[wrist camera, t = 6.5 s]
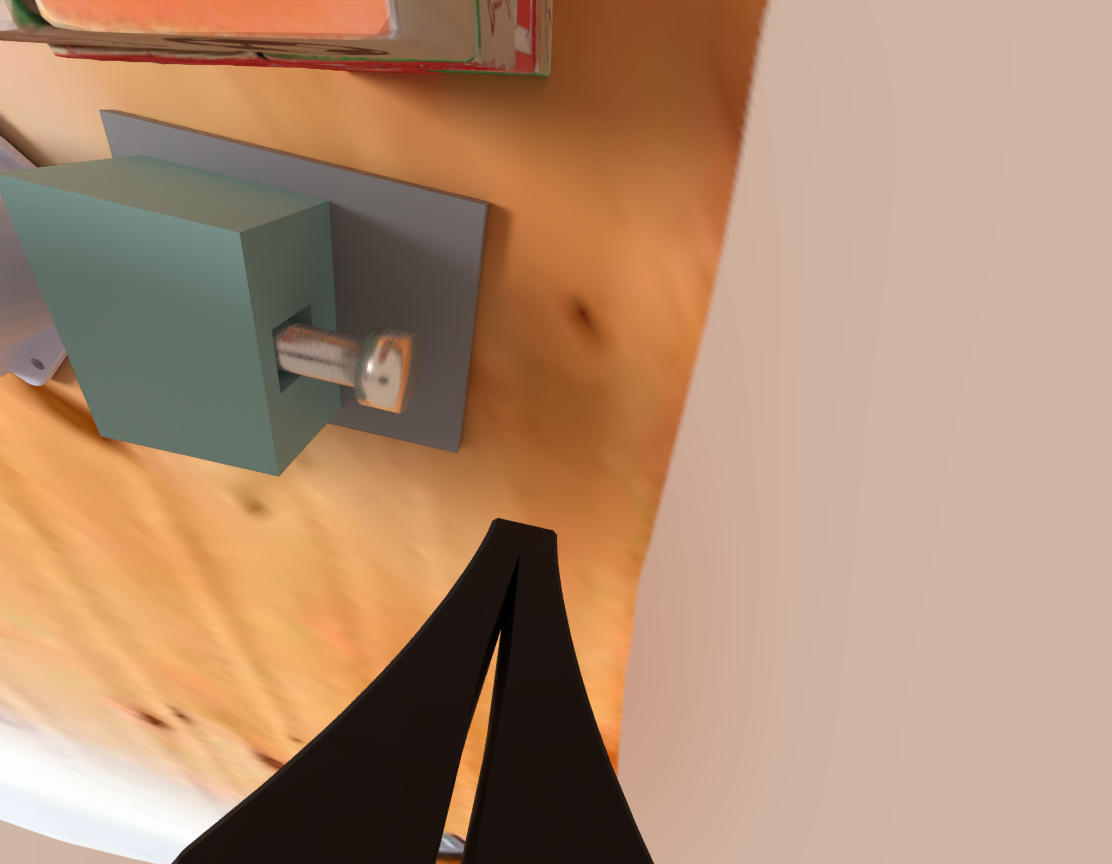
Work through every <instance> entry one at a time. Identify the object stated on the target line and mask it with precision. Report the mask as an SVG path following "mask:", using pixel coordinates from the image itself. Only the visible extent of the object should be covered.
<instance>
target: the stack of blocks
mask: <svg viewBox="0 0 1112 864" xmlns="http://www.w3.org/2000/svg"><path fill="white" fill-rule="evenodd" d="M552 12H553V0H0V40H2V41H17V42H35V43H47V44H48V46H49V47H50V49H51V50H52V52H53V53H54V55H55V56H60V57H66V58H78V59H92V60H100V61H126V62H153V63H159V64H185V65H234V66H257V67H295V68H310V69H323V70H326V69H328V70H335V71H369V72H394V73H429V74H441V73H444V72H458V73H480V74H501V75H529V76H541V77H548V76H550V72H551V52H552Z"/></svg>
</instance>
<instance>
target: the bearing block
mask: <svg viewBox="0 0 1112 864" xmlns="http://www.w3.org/2000/svg"><path fill="white" fill-rule="evenodd" d="M99 111H100V114H101V118H102V122H103V125H104V129H105V132H106V136H107V139H108V143H109V146H110V150H111V153H112V157H113V158H112V159H104V160H95V161H87V162H79V163H71V164H62V165H54V166H46V167H38V168H29V169H21V170H13V171H5V172H0V195H1V197H2V199H3V202H4V204H5V207H6V209H7V211H8V214H9V216H10V219H11V221H12V223H13V226H14V228H15V231H16V233H17V236H18V238H19V240H20V243H21V245H22V248H23V250H24V252H25V255H26V257H27V260H28V262H29V264H30V267H31V269H32V272H33V274H34V276H35V279H36V281H37V284H38V286H39V288H40V291H41V293H42V296H43V298H44V301H45V303H46V305H47V308H48V310H49V313H50V315H51V317H52V320H53V322H54V325H55V327H56V329H57V332H58V334H59V337H60V339H61V341H62V344H63V346H64V349H65V351H66V353H67V356H68V358H69V361H70V363H71V366H72V368H73V370H74V373H75V375H76V378H77V380H78V382H79V385H80V387H81V390H82V392H83V394H84V397H85V399H86V402H87V404H88V406H89V409H90V411H91V414H92V416H93V419H94V421H95V423H96V426H97V428H98V431H99V433H100V435H101V436H102V437H106V438H111V439H115V440H120V441H124V442H129V443H133V444H138V445H142V446H146V447H151V448H155V449H160V450H164V451H169V452H173V453H177V454H182V455H186V456H191V457H195V458H200V459H204V460H208V461H213V462H217V463H222V464H226V465H231V466H235V467H239V468H244V469H248V470H253V471H257V472H262V473H266V474H270V475H275V476H280V475H281V474H282V472H283V471H284V470H285V469H286V468H287V467H288V466H289V465H290V464H291V462H292V461H293V460H294V459H295V458H296V457H297V456H298V455H299V454H300V452H301V451H302V450H303V449H304V448H305V447H306V446H307V445H308V443H309V442H310V441H311V440H312V439H313V438H314V437H315V436H316V435H317V433H318V432H319V431H320V430H321V429H322V428H323V427H324V426H325V424H326V423H329V424H333V425H338V426H342V427H347V428H351V429H355V430H360V431H364V432H368V433H373V434H377V435H381V436H386V437H390V438H394V439H399V440H403V441H407V442H412V443H416V444H421V445H425V446H429V447H434V448H438V449H442V450H447V451H451V452H455V453H458V451H459V449H460V446H461V439H462V430H463V422H464V413H465V405H466V396H467V388H468V379H469V371H470V362H471V354H472V345H473V337H474V328H475V320H476V311H477V303H478V294H479V286H480V277H481V269H482V260H483V252H484V243H485V235H486V226H487V218H488V209H489V202H486V201H482V200H478V199H474V198H470V197H466V196H462V195H458V194H454V193H450V192H446V191H442V190H437V189H433V188H429V187H425V186H421V185H417V184H413V183H409V182H405V181H401V180H397V179H393V178H389V177H385V176H381V175H376V174H372V173H368V172H364V171H360V170H356V169H352V168H348V167H344V166H340V165H336V164H332V163H328V162H324V161H320V160H316V159H311V158H307V157H303V156H299V155H295V154H291V153H287V152H283V151H279V150H275V149H271V148H267V147H263V146H259V145H255V144H251V143H246V142H242V141H238V140H234V139H230V138H226V137H222V136H218V135H214V134H210V133H206V132H202V131H198V130H194V129H190V128H186V127H181V126H177V125H173V124H169V123H165V122H161V121H157V120H153V119H149V118H145V117H141V116H137V115H133V114H129V113H125V112H121V111H116V110H99ZM286 320H288V321H292V322H297V323H301V324H305V325H309V326H314V327H318V328H322V329H326V330H331V331H335V332H339V333H343V334H348V335H352V336H356V337H360V338H365V337H366V335H367V334H368V332H369V331H370V330H371V329H372V328H373V327H375V326H382V327H386V328H390V329H395V330H399V331H403V332H407V333H412V334H416V335H418V336H419V338H420V340H421V345H422V361H421V369H420V374H419V379H418V383H417V386H416V390H415V393H414V395H413V398H412V400H411V402H410V404H409V406H408V407H407V409H406V410H405V411H404V412H403V413H395V412H390V411H386V410H382V409H377V408H373V407H369V406H364V405H361V404H360V403H359V402H358V401H357V399H356V396H355V391H354V387H351V386H347V385H343V384H338V383H334V382H330V381H326V380H321V379H317V378H313V377H308V376H304V375H300V374H295V373H291V372H287V371H283V370H278V369H277V365H276V358H275V351H274V344H273V337H272V329H274V328H275V327H277V326H278V325H280V324H281V323H283V322H284V321H286Z"/></svg>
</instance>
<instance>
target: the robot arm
mask: <svg viewBox="0 0 1112 864" xmlns="http://www.w3.org/2000/svg"><path fill="white" fill-rule="evenodd" d="M29 168H37V167H36V166H35V165H34V164H32V163H31V162H30V161H29V160H28V159H27V158H26V157H24V156H23V155H22V154H21V153H20V152H19V151H17V150H16V149H15V148H14V147H13V146H12V145H11V144H9V143H8V142H7V141H6V140H5V139H4V138H3V137H1V136H0V172H5V171H13V170H21V169H29ZM66 356H67V353H66V351H65V349H64V346H63V344H62V341H61V339H60V337H59V334H58V332H57V329H56V327H55V325H54V322H53V320H52V317H51V315H50V313H49V310H48V308H47V305H46V303H45V301H44V298H43V296H42V293H41V291H40V288H39V286H38V284H37V281H36V279H35V276H34V274H33V272H32V269H31V267H30V264H29V262H28V260H27V257H26V255H25V252H24V250H23V248H22V245H21V243H20V240H19V238H18V236H17V233H16V231H15V228H14V226H13V223H12V221H11V219H10V216H9V214H8V211H7V209H6V207H5V204H4V202H3V199H2V197H1V195H0V377H1V376H4V375H6V374H8V373H10V372H13V373H15V374H16V375H17V376H19V377H20V378H22V379H23V380H25V381H26V382H28V383H29V384H32V385H35V386H41V385H43V384H45V383H47V382H48V381H50V379H51V378H52V376H53V375H54V373H55V372H56V371H57V369H58V368H59V366H60V365H61V363H62V362H63V360H64V359H65V357H66ZM500 631H501V634H500ZM499 634H500V641H499V649H498V656H497V664H496V671H495V679H494V686H493V694H492V701H491V709H490V716H489V724H488V731H487V738H486V744H485V750H484V756H483V762H482V766H481V771H480V776H479V780H478V785H477V790H476V795H475V799H474V804H473V809H472V813H471V818H470V823H469V827H468V832H467V837H466V841H465V846H464V851H463V855H462V860H461V864H654V863H653V860H652V858H651V856H650V854H649V852H648V850H647V847H646V845H645V843H644V841H643V838H642V836H641V834H640V832H639V830H638V828H637V825H636V823H635V820H634V818H633V815H632V813H631V811H630V808H629V806H628V803H627V801H626V798H625V796H624V794H623V791H622V789H621V787H620V784H619V781H618V779H617V777H616V774H615V772H614V769H613V767H612V765H611V762H610V759H609V757H608V754H607V751H606V748H605V746H604V743H603V740H602V737H601V735H600V732H599V729H598V726H597V723H596V720H595V717H594V714H593V711H592V708H591V705H590V702H589V699H588V696H587V693H586V689H585V686H584V683H583V679H582V676H581V672H580V669H579V665H578V661H577V657H576V654H575V650H574V646H573V642H572V638H571V633H570V629H569V624H568V619H567V615H566V610H565V605H564V600H563V594H562V588H561V581H560V574H559V565H558V554H557V535H556V533H555V532H554V531H553V530H549V529H544V528H540V527H536V526H531V525H527V524H522V523H518V522H514V521H509V520H505V519H500V518H497V519H495V520H493V521H492V523H491V525H490V528H489V530H488V532H487V534H486V536H485V538H484V540H483V542H482V543H481V545H480V547H479V548H478V550H477V552H476V553H475V555H474V557H473V558H472V560H471V561H470V563H469V564H468V566H467V567H466V569H465V570H464V572H463V573H462V575H461V576H460V577H459V579H458V580H457V582H456V583H455V584H454V586H453V587H452V589H451V590H450V591H449V593H448V594H447V596H446V597H445V598H444V600H443V601H442V602H441V603H440V605H439V606H438V607H437V608H436V610H435V611H434V612H433V613H432V615H431V616H430V617H429V618H428V620H427V621H426V622H425V623H424V625H423V626H422V627H421V628H420V630H419V631H418V632H417V633H416V634H415V636H414V637H413V638H412V639H411V640H410V641H409V642H408V644H407V645H406V646H405V647H404V648H403V649H402V650H401V652H400V653H399V654H398V655H397V656H396V657H395V658H394V659H393V660H392V661H391V663H390V664H389V665H388V666H387V667H386V668H385V669H384V670H383V671H382V672H381V673H380V674H379V675H378V677H377V678H376V679H375V680H374V681H373V682H372V683H371V684H370V685H369V686H368V687H367V688H366V689H365V690H364V691H363V692H362V693H361V694H360V695H359V696H358V697H357V698H356V699H355V700H354V701H353V702H352V703H351V704H350V705H349V706H348V707H347V708H346V709H345V710H344V711H343V712H342V713H341V714H340V715H339V716H338V717H337V718H336V719H334V720H333V721H332V722H331V723H330V724H329V725H328V726H327V727H326V728H325V729H324V730H323V731H322V732H321V733H319V734H318V735H317V736H316V737H315V738H314V739H313V740H312V741H311V742H309V743H308V744H307V745H306V746H305V747H304V748H303V749H302V750H301V751H300V752H298V753H297V754H296V755H295V756H294V757H293V758H292V759H291V760H290V761H288V762H287V763H286V764H285V765H284V766H283V767H282V768H281V769H280V770H278V771H277V772H276V773H275V774H274V775H273V776H272V777H270V778H269V779H268V780H267V781H266V782H265V783H264V784H262V785H261V786H260V787H259V788H258V789H257V790H255V791H254V792H253V793H252V794H250V795H249V796H248V797H247V798H246V799H244V800H243V801H242V802H241V803H239V804H238V805H237V806H236V807H235V808H233V809H232V810H231V811H230V812H229V813H227V814H226V815H225V816H224V817H222V818H221V819H220V820H219V821H218V822H216V823H215V824H214V825H213V826H211V827H210V828H209V829H208V830H207V831H205V832H204V833H203V834H202V835H201V836H199V837H198V838H197V839H196V840H194V841H193V842H192V843H191V844H190V845H188V846H187V847H186V848H185V849H184V850H183V851H182V852H181V853H180V854H179V855H178V857H177V858H176V859H175V860H174V861H173V863H172V864H436V860H437V856H438V852H439V847H440V843H441V839H442V835H443V831H444V827H445V822H446V818H447V814H448V810H449V806H450V801H451V797H452V793H453V789H454V785H455V780H456V776H457V772H458V768H459V764H460V760H461V755H462V752H463V748H464V745H465V741H466V738H467V734H468V731H469V728H470V725H471V721H472V718H473V715H474V712H475V709H476V706H477V703H478V700H479V696H480V693H481V690H482V687H483V684H484V681H485V678H486V675H487V671H488V668H489V665H490V662H491V659H492V656H493V653H494V650H495V646H496V643H497V640H498V637H499Z"/></svg>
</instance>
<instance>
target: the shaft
mask: <svg viewBox="0 0 1112 864" xmlns="http://www.w3.org/2000/svg"><path fill="white" fill-rule="evenodd" d="M272 337H273V344H274V351H275V358H276V365H277V369H278V370H283V371H287V372H291V373H295V374H300V375H304V376H308V377H313V378H317V379H321V380H326V381H330V382H334V383H338V384H343V385H347V386H351V387H354V391H355V396H356V399H357V401H358V402H359V403H360V404H361V405H364V406H369V407H373V408H377V409H382V410H386V411H390V412H395V413H403V412H404V411H405V410H406V409H407V407H408V406H409V404H410V402H411V400H412V398H413V395H414V393H415V390H416V386H417V383H418V379H419V374H420V369H421V361H422V345H421V340H420V338H419V336H418V335H416V334H412V333H407V332H403V331H399V330H395V329H390V328H386V327H382V326H375V327H373V328H372V329H371V330H370V331H369V332H368V334H367V335H366V337H365V338H360V337H356V336H352V335H348V334H343V333H339V332H335V331H331V330H326V329H322V328H318V327H314V326H309V325H305V324H301V323H297V322H292V321H288V320H286V321H284V322H283V323H281V324H280V325H278V326H277V327H275V328H274V329H272Z"/></svg>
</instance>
